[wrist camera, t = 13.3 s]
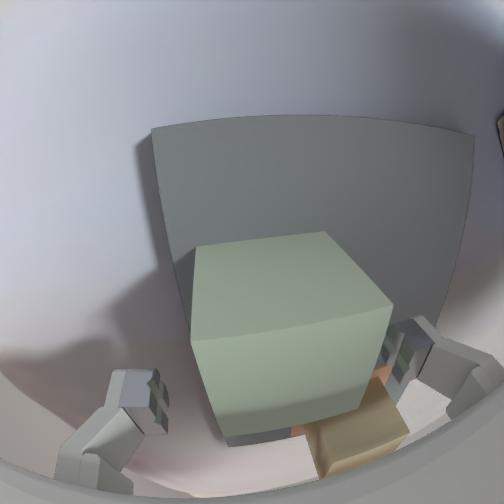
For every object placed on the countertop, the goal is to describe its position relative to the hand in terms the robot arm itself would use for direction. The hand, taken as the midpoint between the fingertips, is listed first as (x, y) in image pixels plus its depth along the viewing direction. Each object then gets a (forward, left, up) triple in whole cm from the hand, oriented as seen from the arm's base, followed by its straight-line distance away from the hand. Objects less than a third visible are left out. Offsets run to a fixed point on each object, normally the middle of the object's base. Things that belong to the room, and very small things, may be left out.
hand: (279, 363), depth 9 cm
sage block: (-1, 0, -4) cm, 4 cm away
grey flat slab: (+3, +4, -5) cm, 7 cm away
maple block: (+10, +5, -3) cm, 12 cm away
